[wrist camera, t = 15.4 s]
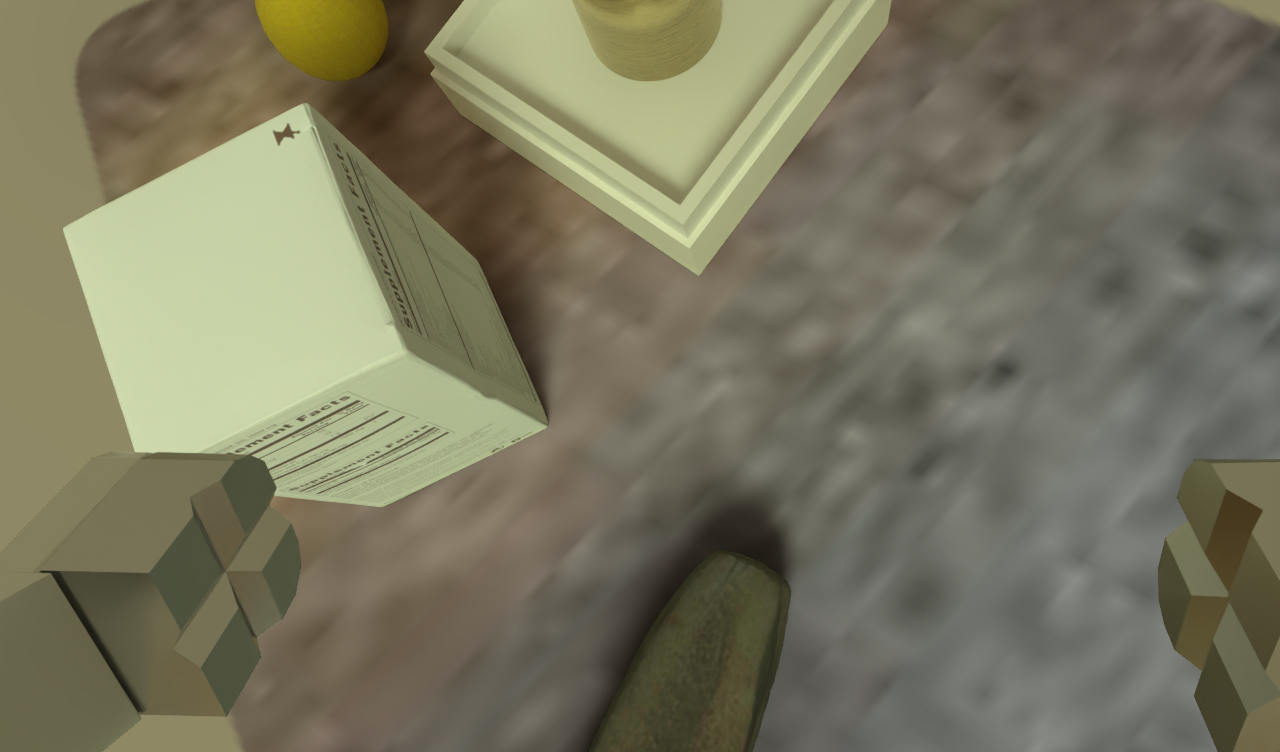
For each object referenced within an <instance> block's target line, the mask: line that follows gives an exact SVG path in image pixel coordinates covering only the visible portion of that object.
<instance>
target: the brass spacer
mask: <svg viewBox="0 0 1280 752" xmlns="http://www.w3.org/2000/svg"><path fill="white" fill-rule="evenodd" d="M572 2H573V4H574V7H575V9H576V11H577V14H578V16H579V18H580V21H581V23H582V25H583V28H584V30H585V33H586V35H587V37H588V40H589V42H590V44H591V47H592V49H593V51H594V53H595V54H596V56H597V57H598V59H599V60H600V61H601V62H602V63H603V64H604V65H605V66H606V67H607V68H608V69H610V70H611V71H612V72H614V73H616V74H618V75H620V76H622V77H625V78H628V79H631V80H636V81H646V82H648V81H659V80H665V79H668V78H672V77H674V76H677V75H679V74H681V73H683V72H685V71H687V70H688V69H690V68H691V67H693V66H694V65H695V64H697V63H698V62H699V61H700V60H701V59H702V58H703V57H704V56H705V55H706V54H707V52H708V51H709V50H710V48H711V47H712V45H713V44H714V42H715V40H716V38H717V35H718V33H719V29H720V26H721V20H722V6H721V0H572Z"/></svg>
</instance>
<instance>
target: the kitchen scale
mask: <svg viewBox="0 0 1280 752" xmlns="http://www.w3.org/2000/svg"><path fill="white" fill-rule="evenodd" d="M721 6H722V20H721V26H720V29H719V33H718V35H717V38H716V40H715V42H714V44H713V45H712V47H711V48H710V50H709V51H708V52H707V54H706V55H705V56H704V57H703V58H702V59H701V60H700V61H699V62H698V63H697V64H695V65H694V66H693V67H691V68H690V69H688V70H687V71H685V72H683V73H681V74H679V75H677V76H674V77H672V78H668V79H665V80H659V81H648V82H646V81H636V80H631V79H628V78H625V77H622V76H620V75H618V74H616V73H614V72H612V71H611V70H610V69H608V68H607V67H606V66H605V65H604V64H603V63H602V62H601V61H600V60H599V59H598V57H597V56H596V54H595V53H594V51H593V49H592V47H591V44H590V42H589V40H588V37H587V35H586V33H585V30H584V28H583V25H582V23H581V21H580V18H579V16H578V14H577V11H576V9H575V7H574V4H573V2H572V0H464V1H463V2H462V4H461V5H460V6H459V8H458V9H457V10H456V11H455V13H454V14H453V15H452V16H451V18H450V19H449V20H448V22H447V23H446V24H445V25H444V27H443V28H442V29H441V31H440V32H439V33H438V34H437V36H436V37H435V38H434V39H433V41H432V42H431V43H430V45H429V46H428V47H427V48H426V50H425V51H424V53H425V54H426V56H427V57H428V58H429V60H430V61H431V63H432V64H433V65H434V67H435V68H434V70H433V71H432V72H431V74H430V75H431V76H432V78H433V79H434V80H435V82H436V83H437V84H438V86H439V87H440V88H441V89H442V91H443V92H444V93H445V95H446V96H447V97H448V99H449V100H450V101H451V103H452V104H453V105H454V107H455V108H456V109H457V111H458V112H459V113H460V114H461V115H462V116H464V117H465V118H467V119H468V120H470V121H471V122H473V123H474V124H475V125H477V126H478V127H480V128H481V129H483V130H484V131H486V132H487V133H489V134H490V135H492V136H493V137H495V138H496V139H498V140H499V141H501V142H502V143H503V144H505V145H506V146H508V147H509V148H511V149H512V150H514V151H515V152H517V153H518V154H520V155H521V156H523V157H524V158H526V159H527V160H528V161H530V162H531V163H533V164H534V165H536V166H537V167H539V168H540V169H542V170H543V171H545V172H546V173H548V174H549V175H551V176H552V177H554V178H555V179H556V180H558V181H559V182H561V183H562V184H564V185H565V186H567V187H568V188H570V189H571V190H573V191H574V192H576V193H577V194H579V195H580V196H581V197H583V198H584V199H586V200H587V201H589V202H590V203H592V204H593V205H595V206H596V207H598V208H599V209H601V210H602V211H604V212H605V213H606V214H608V215H609V216H611V217H612V218H614V219H615V220H617V221H618V222H620V223H621V224H623V225H624V226H626V227H627V228H629V229H630V230H632V231H633V232H634V233H636V234H637V235H639V236H640V237H642V238H643V239H645V240H646V241H648V242H649V243H651V244H652V245H654V246H655V247H657V248H658V249H659V250H661V251H662V252H664V253H665V254H667V255H668V256H670V257H671V258H673V259H674V260H676V261H677V262H679V263H680V264H682V265H683V266H685V267H686V268H687V269H689V270H690V271H692V272H693V273H695V274H696V275H698V276H700V274H701V273H702V272H703V270H704V269H705V268H706V266H707V265H708V264H709V262H710V261H711V260H712V258H713V257H714V256H715V254H716V253H717V252H718V250H719V249H720V248H721V246H722V245H723V244H724V242H725V241H726V240H727V238H728V237H729V236H730V234H731V233H732V231H733V230H734V229H735V227H736V226H737V225H738V223H739V222H740V221H741V219H742V218H743V217H744V215H745V214H746V213H747V211H748V210H749V209H750V207H751V206H752V205H753V203H754V202H755V201H756V199H757V198H758V197H759V195H760V194H761V193H762V191H763V190H764V189H765V187H766V186H767V185H768V183H769V182H770V181H771V179H772V178H773V177H774V175H775V174H776V173H777V171H778V170H779V169H780V167H781V166H782V165H783V163H784V162H785V161H786V159H787V158H788V157H789V155H790V154H791V153H792V151H793V150H794V149H795V147H796V146H797V145H798V143H799V142H800V141H801V139H802V138H803V137H804V135H805V134H806V133H807V131H808V130H809V129H810V127H811V126H812V125H813V123H814V122H815V121H816V119H817V118H818V117H819V115H820V114H821V113H822V111H823V110H824V109H825V107H826V106H827V105H828V103H829V102H830V101H831V99H832V98H833V97H834V95H835V94H836V93H837V91H838V90H839V88H840V87H841V86H842V84H843V83H844V82H845V80H846V79H847V78H848V76H849V75H850V74H851V72H852V71H853V70H854V68H855V67H856V66H857V64H858V63H859V62H860V60H861V59H862V58H863V56H864V55H865V54H866V52H867V51H868V50H869V48H870V47H871V46H872V44H873V43H874V42H875V40H876V39H877V38H878V36H879V35H880V34H881V32H882V31H883V30H884V28H885V27H886V26H887V23H888V18H889V12H890V6H891V0H721Z"/></svg>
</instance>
